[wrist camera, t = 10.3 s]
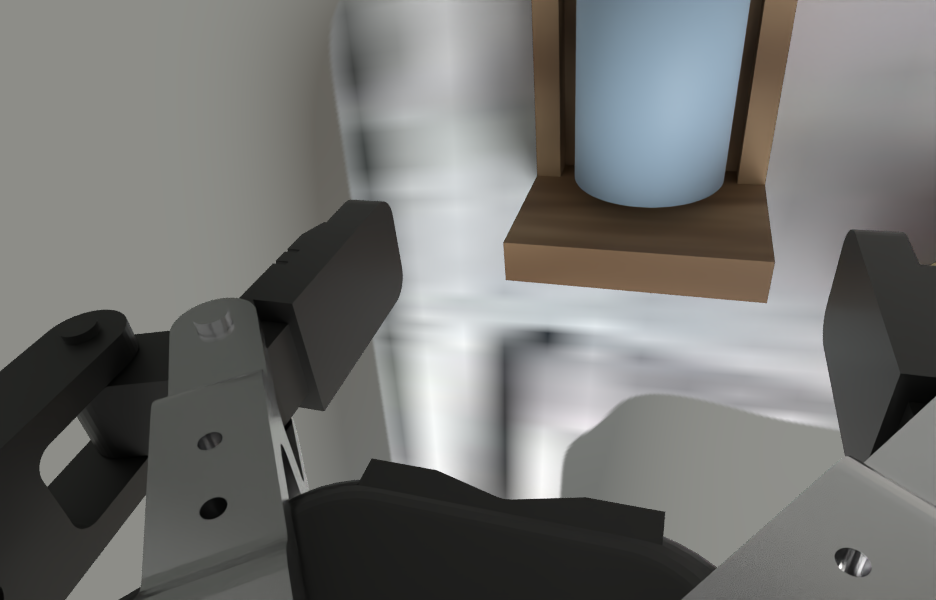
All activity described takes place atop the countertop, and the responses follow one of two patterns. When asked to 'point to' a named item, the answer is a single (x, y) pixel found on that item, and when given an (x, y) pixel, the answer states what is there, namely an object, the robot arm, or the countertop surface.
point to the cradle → (640, 228)
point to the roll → (655, 97)
